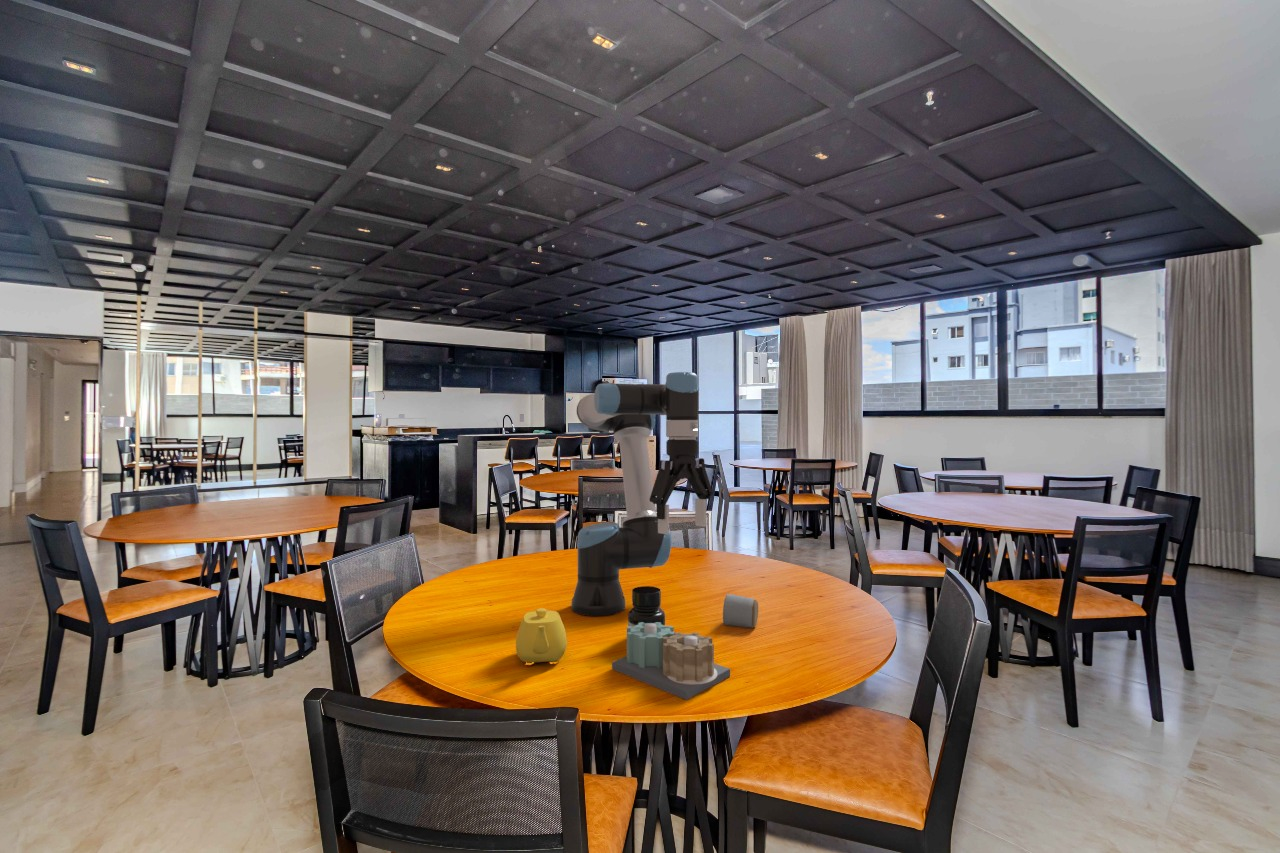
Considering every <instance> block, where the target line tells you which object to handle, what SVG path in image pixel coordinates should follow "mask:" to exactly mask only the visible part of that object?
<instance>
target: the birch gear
mask: <svg viewBox="0 0 1280 853" xmlns="http://www.w3.org/2000/svg"><path fill="white" fill-rule="evenodd" d="M686 636H696V637H697V644H695V645H684V637H686ZM714 664H715V644H714V643H713V637H711V636H705V635H701V634H699V632H692V633H682V632H677V631H676V632H675V633H674V635H673V636H670V637H664V638H663V674H664V675H665V676H672V677H674V678H676V681H679V682H683V680H695V681H697V682H700V681H703V678H704V677H706V676H713V675H714Z"/></svg>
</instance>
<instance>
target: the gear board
mask: <svg viewBox="0 0 1280 853" xmlns="http://www.w3.org/2000/svg"><path fill="white" fill-rule="evenodd" d="M674 633H676V632H675V631H674V626H673V625H666V624H665V625H662V624H661V622H655V623H644V622H640V623H638V625H636V626H633V627H632V626H628V625H627V627H626V656H624V657H621V658H618V659H616V660H613V661H611V670H613V671H615V670H616V672H618V673H621V674H622V673H623V674H622V675H624V676H625V675H626V676H627V675H628V676H627V677H630V676H631V677H630V678H632V677H633V678H632V679H635V680H637V681H640V682H642V683H644V684H647V685H650V686H652V687H655V688H657V689H659V690H662V691H664V692H666V693H668V694H671V695H674V696H676V697H678V698H681V699H683V700H685V701H687V700H689V699H691V698H692V697H695V696H696V695H698V694H700V693H702V692H704V691H705V690H708V689H709V688H711V687H713V686H715V685H716V684H719V683H720V682H723V681H724V680H726V679H728V678H729V677H731V668H729V667H725V666H723V665H720V664H717V663H714V675H713V676H706V677H704V678H703V681H700V682H697V681H695V680H683V682H679V681H676V678H674V677H672V676H665V675H664V674H663V638H664V637H670V636H673V635H674ZM695 644H697V637H696V636H686V637H684V645H695Z"/></svg>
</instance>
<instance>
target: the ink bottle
mask: <svg viewBox="0 0 1280 853" xmlns="http://www.w3.org/2000/svg"><path fill="white" fill-rule="evenodd" d="M661 591H662V590H661V588H659V587H655V586H648V585H647V586H646V585H644V586H643V585H642V586H637V587H634V588H632V592H631V595H632V596H631V601H632V608H631V609H630V610H629V611H628V614H627V627H628V626H632V627H633V626H636V625H638V623H640V622H644V623H655V622H661V624H662V625H665V626H666V614H665V611H664V610H663V609H662V608H661V603H662V598H661V596H662V595H661V594H662V592H661Z"/></svg>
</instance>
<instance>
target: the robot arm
mask: <svg viewBox="0 0 1280 853" xmlns="http://www.w3.org/2000/svg"><path fill="white" fill-rule="evenodd" d="M698 377H699V376H698V375H697V374H696V373H695V372H691V371H689V372H688V371H677V372H676V371H675V372H669V373H668V374H667V375H666V377H665V383H664V384H663V383H662V384H661V383H659V384H656V383H654V384H653V383H651V384H650V383H638V384H637V383H614V382H607V383H598V384H597V386H596V387H595V390H594V393H590V394H587V395H585V396H583V397H582V398H581V399H580V400H579V402H578V403H577V405H576V417H577V418H578V420H579V422H580V423H582V425H584V426H586V427H587V428H589V429H591V430H595V431H600V432H601V431H602V432H613V438H614V439H615V440H616V441H617V442H618V443H619V450H620V460H621V470H622V479H623V480H622V481H623V490H624V498H625V499H624V500H625V510H626V517H625V518H624V520H623V521H622V527H620V525H619V524H618V523H617V522H613V521H612V522H611V521H610V522H609V521H608V522H599V523H593V524H590V525H587V526H584V527H582V528H581V529H580V530H579V531H578V532H577V542H576V543H577V544H576V548H577V582H576V585H575V588H574V593H573V597H572V599H571V607H570V608H571V610H572V612H574V613H576V614H578V615H581V616H588V617H601V616H603V617H604V616H610V615H615V614H618V613H621V612H622V611H624V610H625V609H626V597H625V595H624V592H623V588H622V585H621V582H620V571H621V570H629V569H641V568H643V569H644V568H649V569H651V568H654V567H661V566H664V565H665V564H666V563H667V562H668V561H669V559H670V558H669V557H670V554H671V549H672V532H671V530H670V505H669V504H667V503H668V501H669V499H670V497H671V496H672V493H673V491H674V489H675V488H676V485H677V483H678V482H679V481H681V480H683V479H686V480H687V481H688V483H689V484H690V486H691V488H692V490H693V492H694V493H695V495H696V496H697V498H695V499H694V500H695V501H694V502H695V503H694V509H695V510H694V511H695V514H694V515H695V517H694V518H695V521H694V523H695V526H697V527H702V528H705V527H707V510H708V509H707V508H708V503H707V501H708V500H710V499H712V496H713V493H714V492H713V489H712V486H711V483H710V480H709V476H708V473H707V470H706V466H705V464H706V462H705V458H702V457H700V458H699V457H696V456H698V455H699V451H700V450H699V448H700V447H699V446H700V445H699V440H698V439H697V438H698V437H699V390H700V387H699V381H698V380H699V378H698ZM656 415H659V416H665V419H666V420H665V424H666V425H665V426H666V427H665V437H667V438H668V439H667V440H666V442H665V444H666V445H665V446H666V448H665V450H666V451H665V452H666V455H667V456H669V459H668V460H665V459H661V460H659V463H658V471H657V474H656V477H655V480H654V484H653V480H652V471H651V470H652V469H651V464H650V462H651V461H650V457H649V456H650V454H649V447H648V439H649V437H650V436H651V434H652V431H653V430H654V428H655V425H656Z"/></svg>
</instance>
